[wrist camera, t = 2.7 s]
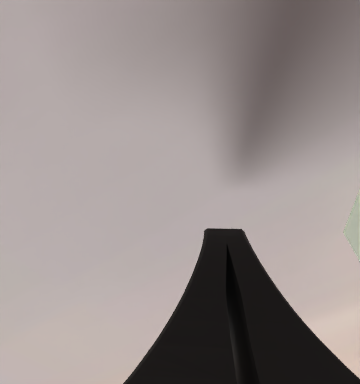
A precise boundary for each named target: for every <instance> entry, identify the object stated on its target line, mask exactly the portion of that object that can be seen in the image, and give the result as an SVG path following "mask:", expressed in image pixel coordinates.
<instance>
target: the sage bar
mask: <svg viewBox="0 0 360 384" xmlns="http://www.w3.org/2000/svg"><path fill="white" fill-rule="evenodd" d="M343 233H344V235H345V237H346V238H347V240H348V242H349V244H350V245H351V247H352V249H353V251H354V253H355V254H356V256H357V258H358V260H359V262H360V190H359V192H358V195H357V198H356V200H355V203H354V205H353V208H352V211H351V213H350V216H349V218H348V221H347V224H346V226H345V229H344V232H343Z"/></svg>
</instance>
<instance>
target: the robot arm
mask: <svg viewBox="0 0 360 384" xmlns="http://www.w3.org/2000/svg"><path fill="white" fill-rule="evenodd" d="M123 384H360V379H359V378H358V377H357V376H356V375H355V374H354V373H353V372H352V371H351V370H349V369H348V368H347V367H346V366H345V365H344V364H343V363H342V362H341V361H340V360H339V359H338V358H337V357H336V356H335V355H334V354H333V353H332V352H331V351H330V350H329V349H328V348H327V347H326V346H325V345H324V344H323V343H322V342H321V341H320V340H319V338H318V337H317V336H316V335H315V334H314V333H313V332H312V331H311V330H310V328H309V327H308V326H307V325H306V324H305V323H304V322H303V321H302V319H301V318H300V317H299V316H298V315H297V313H296V312H295V311H294V310H293V308H292V307H291V306H290V305H289V303H288V302H287V301H286V299H285V298H284V297H283V295H282V294H281V293H280V291H279V290H278V289H277V287H276V286H275V284H274V283H273V281H272V280H271V278H270V277H269V275H268V274H267V272H266V271H265V269H264V267H263V266H262V264H261V263H260V261H259V259H258V258H257V256H256V254H255V252H254V251H253V249H252V247H251V245H250V243H249V241H248V239H247V237H246V235H245V232H244V231H243V230H242V229H210V228H207V229H206V230H205V231H204V239H203V244H202V248H201V252H200V255H199V258H198V261H197V263H196V266H195V269H194V271H193V274H192V276H191V278H190V281H189V283H188V285H187V287H186V289H185V292H184V294H183V296H182V298H181V300H180V301H179V303H178V305H177V307H176V309H175V311H174V312H173V314H172V316H171V318H170V319H169V321H168V322H167V324H166V326H165V327H164V329H163V330H162V332H161V334H160V335H159V337H158V338H157V340H156V341H155V343H154V344H153V345H152V347H151V348H150V350H149V351H148V352H147V354H146V355H145V356H144V358H143V359H142V361H141V362H140V363H139V365H138V366H137V367H136V369H135V370H134V371H133V372H132V374H131V375H130V376H129V377H128V379H127V380H126V381H125V382H124V383H123Z"/></svg>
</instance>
